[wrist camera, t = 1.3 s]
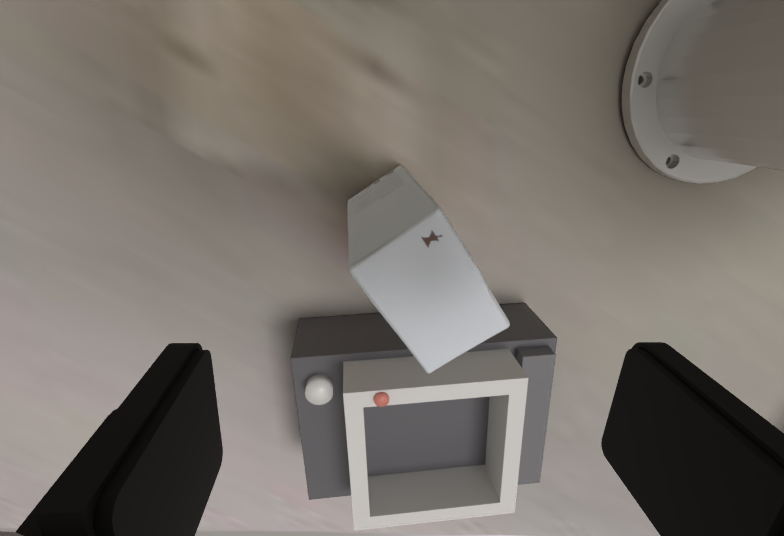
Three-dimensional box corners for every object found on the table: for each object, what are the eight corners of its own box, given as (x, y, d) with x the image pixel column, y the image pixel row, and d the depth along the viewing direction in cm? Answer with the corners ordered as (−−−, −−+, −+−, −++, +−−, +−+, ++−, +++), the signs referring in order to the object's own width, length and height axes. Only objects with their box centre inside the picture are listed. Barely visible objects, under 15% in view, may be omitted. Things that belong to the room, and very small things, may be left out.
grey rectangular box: (525, 302, 31) (584, 367, 23) (513, 425, 34) (561, 516, 27) (299, 318, 29) (282, 392, 22) (314, 444, 33) (304, 545, 25)
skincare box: (344, 200, 27) (342, 266, 16) (401, 162, 26) (441, 202, 15) (396, 274, 29) (427, 379, 18) (449, 240, 28) (516, 325, 17)
